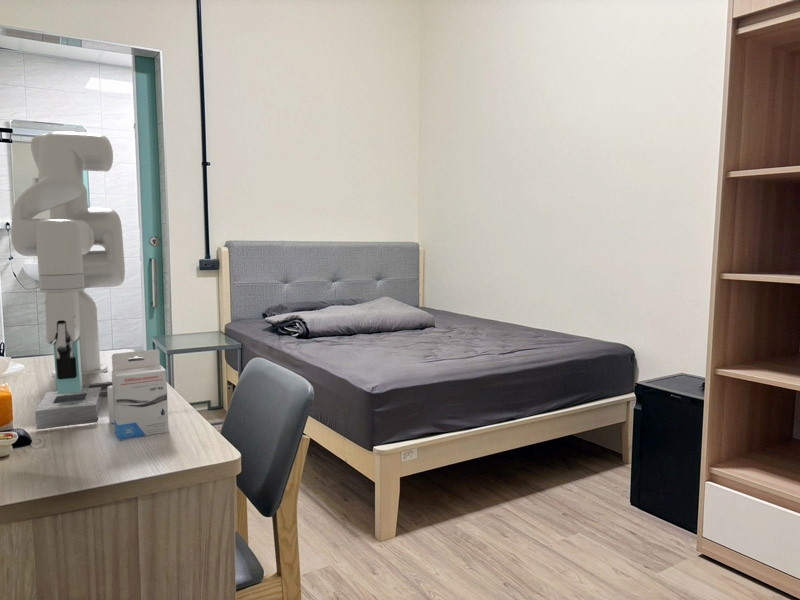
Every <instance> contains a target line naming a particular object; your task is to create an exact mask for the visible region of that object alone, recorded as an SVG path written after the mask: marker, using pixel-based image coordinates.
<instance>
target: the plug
mask: <svg viewBox="0 0 800 600" xmlns="http://www.w3.org/2000/svg"><path fill="white" fill-rule="evenodd" d="M66 342H70V339H66ZM52 344H53V356H54V357H53V358H54V368H55V369H54V370H55V372H56V377H55V384H56V391H57V394H67V393H78V392H81V390H82V385H83V375H82V372H81V358H80V343H79V339H77V340H76V341H75V342H73V352H74V357H75V358H76V372H77V376H76V378H70V379H58V377H57V363H56V359H57V352H56V340H54V341H53V343H52ZM67 346H69V345H67ZM69 348H70V347H69Z"/></svg>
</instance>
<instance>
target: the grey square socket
mask: <svg viewBox="0 0 800 600" xmlns="http://www.w3.org/2000/svg"><path fill="white" fill-rule="evenodd" d="M108 386H112V381H107V382H106V381H104V382H96V383H95V382H94V383H85V384H83V383H82V389H86V388H96V387H101V394H102V398H105V397H108V394H107V387H108Z"/></svg>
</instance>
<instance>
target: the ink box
mask: <svg viewBox="0 0 800 600" xmlns="http://www.w3.org/2000/svg"><path fill="white" fill-rule="evenodd" d="M160 353H161V352H160V349H158V348H157V349H149V350H148V349H145V350H136V351H126V352H117V353H113V354H112V355H111V367H112V371H111V382H112V387H113V404H114V423H115V424H114V423H113V424H114V434H115V436H116V437H117V439H118V440H119V441H123V440H124V441H125V440H130V439H135V438H142V437H147V436H153V435H159V434H165V433H169V432H170V429H169V410H168V409H169V408H168V407H169V406H168V403H169V402H168V385H167V384H168V383H167V381H168V380H167V369H165V368H164V367H163V366H162V365H161V363H160V361H161V358H160V357H161V355H160ZM135 357H137V358H144V360H140V361H130V362H129V361H128V359H131V358H135Z"/></svg>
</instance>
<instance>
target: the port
mask: <svg viewBox="0 0 800 600" xmlns="http://www.w3.org/2000/svg"><path fill="white" fill-rule="evenodd" d="M102 399H103V397H102V394H101V387H96V388H86V389H82V390H81V392H78V393H67V394H57V390H56V391H47V392H46V393H45V395H43V397H42V400H41V401H40V403H38V406H37V407H36V409H35V410H34V414H35V415H34V416H35V426H36V430H44V429H52V428H60V427H69V426H78V425H85V424H86V425H87V424H95V423H98V420H99V417H98V416H99V410H100V407H101V404H102Z"/></svg>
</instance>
